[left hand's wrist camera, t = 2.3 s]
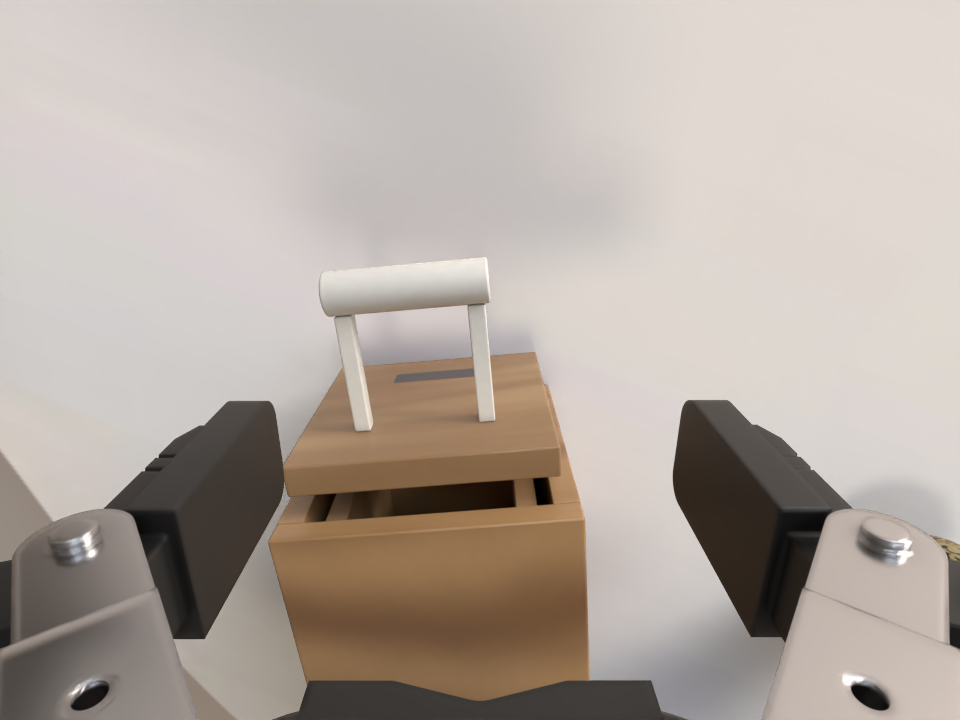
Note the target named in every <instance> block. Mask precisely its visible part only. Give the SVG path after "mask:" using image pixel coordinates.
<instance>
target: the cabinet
mask: <svg viewBox="0 0 960 720" xmlns="http://www.w3.org/2000/svg"><path fill="white" fill-rule="evenodd" d="M544 387H545V391H546V394H547V398H548V402H549V406H550V410H551V414H552V417H553V421H554V425H555V429H556V433H557V437H558V440H559V444H560V452H561V476H558V477H545V478H533V481H534V487H535V494H536V500H537V506H525V507H511V508H498V509H484V510H471V511H458V512H444V513H431V514H418V515H404V516H391V517H378V518H364V519H351V520H338V521H326V518H327V516H328V513H329V511H330V509H331V506H332V504H333V501H334V499H335V496H336V494H337V493H336V494H323V495H309V496H296V497H291V499H290V501H289V503H288V505H287V507H286V508H285V510H284V512H283V514H282V516H281V518H280V520H279V522H278V524H277V526H276V528H275V530H274V532H273V534H272V536H271V537H270V539H269V542H268V544H269V547H270V551H271V555H272V558H273V562H274V566H275V569H276V573H277V577H278V580H279V584H280V588H281V591H282V595H283V598H284V602H285V606H286V609H287V613H288V617H289V620H290V624H291V628H292V631H293V635H294V638H295V642H296V646H297V649H298V653H299V657H300V660H301V664H302V668H303V671H304V675H305V679H306V682H307V685H308V682H309V681H397V682H401V683H405V684H409V685H413V686H417V687H421V688H425V689H429V690H433V691H437V692H441V693H445V694H449V695H453V696H457V697H461V698H465V699H469V700H475V701H485V700H491V699H495V698H499V697H503V696H507V695H511V694H515V693H519V692H523V691H527V690H531V689H535V688H539V687H543V686H547V685H551V684H555V683H559V682H563V681H589V644H588V608H587V572H586V536H585V517H584V514H583V510H582V506H581V504H580V498H579V495H578V491H577V488H576V484H575V480H574V477H573V473H572V470H571V466H570V462H569V459H568V455H567V452H566V448H565V444H564V441H563V437H562V434H561V430H560V426H559V423H558V419H557V416H556V412H555V408H554V405H553V401H552V398H551V394H550V391H549V387H548V385H544Z"/></svg>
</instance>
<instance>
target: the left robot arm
mask: <svg viewBox="0 0 960 720" xmlns="http://www.w3.org/2000/svg"><path fill="white" fill-rule="evenodd" d="M673 487H674V492H675V497H676V500H677V502H678V504H679V506H680V508H681V510H682V512H683V513H684V515H685V517H686V519H687V521H688V523H689V524H690V526H691V528H692V530H693V532H694V533H695V535H696V537H697V539H698V541H699V543H700V544H701V546H702V548H703V550H704V552H705V554H706V555H707V557H708V559H709V561H710V563H711V565H712V566H713V568H714V570H715V572H716V574H717V576H718V577H719V579H720V581H721V583H722V585H723V587H724V588H725V590H726V592H727V594H728V596H729V598H730V599H731V601H732V603H733V605H734V607H735V609H736V610H737V612H738V614H739V616H740V618H741V620H742V621H743V623H744V625H745V627H746V629H747V631H748V632H749V634H750V636H751V637H782V638H783V640H784V642H785V646H784V649H783V653H782V656H781V659H780V662H779V665H778V669H777V672H776V675H775V678H774V681H773V685H772V688H771V691H770V694H769V698H768V701H767V704H766V707H765V710H764V714H763V717H762V720H960V561H955V560H950V559H948V557H947V555H946V553H945V551H944V549H943V548H942V547H941V546H940V544H939V543H938V542H936V541H935V540H934V539H933V538H932V537H931V536H929V535H928V534H927V533H925V532H924V531H922V530H920V529H919V528H917V527H915V526H913V525H911V524H909V523H907V522H905V521H903V520H900V519H898V518H895V517H892V516H890V515H886V514H883V513H879V512H875V511H870V510H863V509H853V508H852V507H851V506H850V505H849V504H848V503H847V502H846V501H845V500H844V499H842V498H841V497H840V496H839V495H838V494H837V493H836V492H835V491H834V490H833V489H832V488H831V487H830V486H829V485H828V484H827V483H826V482H825V481H824V480H823V479H822V478H821V477H820V476H819V475H818V474H817V473H816V472H815V471H814V470H811V469H810V466H809V465H808V464H807V463H806V462H805V461H804V460H803V459H802V458H801V457H797V453H796V452H795V451H794V450H793V449H792V448H791V447H790V446H789V445H788V444H787V443H786V442H785V441H784V440H783V439H782V438H780V437H778V436H776V435H775V434H773V433H771V432H769V431H767V430H766V429H764V428H762V427H760V426H758V425H752V424H751V423H750V422H749V421H748V420H747V419H746V418H745V417H744V416H743V415H742V414H741V413H740V412H739V411H738V410H737V409H736V408H735V406H734V405H733V404H732V403H731V402H729V401H728V400H688V401H686V402H685V404H684V406H683V408H682V413H681V419H680V426H679V433H678V440H677V447H676V454H675V461H674V468H673ZM283 488H284V469H283V462H282V455H281V448H280V441H279V434H278V427H277V420H276V414H275V410H274V407H273V405H272V403H271V402H269V401H229V402H227V403H226V404H225V405H224V406H223V407H222V408H221V409H220V410H219V411H218V412H217V413H216V414H215V415H214V416H213V417H212V418H211V419H210V420H209V421H208V422H207V423H206V424H205V425H204V426H198V427H196V428H194V429H193V430H191V431H189V432H187V433H185V434H183V435H182V436H180V437H178V438H176V439H175V440H174V441H173V442H171V443H170V444H169V445H168V446H167V447H166V448H165V449H164V450H163V451H162V452H161V453H160V454H159V458H155V459H154V460H153V461H152V462H151V463H150V464H149V465H148V466H147V467H146V468H145V472H141V473H140V474H139V475H138V476H137V477H136V478H135V479H134V480H133V481H132V482H131V483H130V484H129V485H128V486H126V487H125V488H124V489H123V490H122V491H121V492H120V493H119V494H118V495H117V496H116V497H115V498H114V499H113V500H112V501H111V502H110V503H109V504H108V505H107V506H106V507H105V508H104V509H97V510H90V511H85V512H81V513H77V514H74V515H70V516H68V517H65V518H62V519H60V520H57V521H55V522H53V523H51V524H49V525H47V526H45V527H43V528H41V529H40V530H38V531H36V532H35V533H33V534H32V535H31V536H29V537H28V538H27V539H26V540H25V541H24V542H22V543H21V544H20V546H19V547H18V548H17V549H16V551H15V553H14V555H13V557H12V560H9V561H4V562H0V720H198V717H197V714H196V710H195V707H194V704H193V701H192V698H191V694H190V691H189V688H188V685H187V682H186V678H185V675H184V672H183V669H182V665H181V662H180V659H179V656H178V653H177V649H176V646H175V643H174V640H173V639H205V637H206V635H207V634H208V632H209V630H210V628H211V626H212V625H213V623H214V621H215V619H216V617H217V616H218V614H219V612H220V610H221V608H222V606H223V605H224V603H225V601H226V599H227V597H228V596H229V594H230V592H231V590H232V588H233V587H234V585H235V583H236V581H237V579H238V578H239V576H240V574H241V572H242V570H243V569H244V567H245V565H246V563H247V561H248V559H249V558H250V556H251V554H252V552H253V550H254V549H255V547H256V545H257V543H258V541H259V540H260V538H261V536H262V534H263V532H264V531H265V529H266V527H267V525H268V523H269V521H270V520H271V518H272V516H273V514H274V512H275V511H276V509H277V507H278V505H279V503H280V501H281V498H282V494H283ZM273 720H687V719H684V718H681V717H678V716H676V715H673V714H669V713H666V712H662V711H661V710H660V707H659V704H658V701H657V698H656V694H655V691H654V688H653V685H652V682H651V681H563V682H559V683H555V684H551V685H547V686H543V687H539V688H535V689H531V690H527V691H523V692H519V693H515V694H511V695H507V696H503V697H499V698H495V699H491V700H485V701H475V700H469V699H465V698H461V697H457V696H453V695H449V694H445V693H441V692H437V691H433V690H429V689H425V688H421V687H417V686H413V685H409V684H405V683H401V682H397V681H309V682H308V685H307V688H306V691H305V694H304V698H303V701H302V704H301V707H300V710H299V711H298V712H294V713H291V714H287V715H284V716H282V717H279V718H276V719H273Z"/></svg>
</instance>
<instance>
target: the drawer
mask: <svg viewBox="0 0 960 720" xmlns="http://www.w3.org/2000/svg"><path fill="white" fill-rule="evenodd" d="M319 296H320V301H321V305H322V308H323V310H324V312H325V314H326V315H327V316H329V317H332V316H336V317H335V318H334V321H335V327H336V332H337V337H338V342H339V348H340V353H341V358H342V364H343V368H342V369H341V371H340V373H339V374H338V376H337V378H336V379H335V381H334V382H333V384H332V386H331V387H330V389H329V391H328V392H327V394H326V396H325V397H324V399H323V401H322V402H321V404H320V405H319V407H318V409H317V410H316V412H315V414H314V415H313V417H312V419H311V420H310V422H309V424H308V425H307V427H306V428H305V430H304V432H303V433H302V435H301V437H300V438H299V440H298V442H297V443H296V445H295V446H294V448H293V450H292V451H291V453H290V455H289V456H288V458H287V460H286V461H285V463H284V465H283V469H284V481H285V485H286V489H287V493H288V496H289V497H296V496H309V495H323V494H336V493H337V494H336V496H335V499H334V501H333V504H332V506H331V509H330V511H329V513H328V516H327V518H326V521H338V520H351V519H364V518H378V517H391V516H404V515H418V514H431V513H444V512H458V511H471V510H484V509H498V508H511V507H525V506H537V500H536V494H535V487H534V481H533V478H545V477H558V476H561V452H560V444H559V440H558V437H557V433H556V429H555V425H554V421H553V417H552V414H551V410H550V406H549V402H548V398H547V394H546V391H545V387H544V383H543V379H542V375H541V372H540V368H539V364H538V360H537V356H536V353H535V352H530V353H518V354H506V355H494V356H490V352H489V341H488V330H487V318H486V307H485V303H489V302H490V301H491V299H490V286H489V274H488V263H487V258H486V257H481V258H469V259H458V260H447V261H436V262H425V263H414V264H402V265H391V266H380V267H369V268H358V269H346V270H335V271H324V272H322V273H321V275H320V279H319ZM459 305H468V317H469V327H470V337H471V346H472V356H473V357H470V358H458V359H446V360H434V361H422V362H410V363H398V364H386V365H374V366H363V361H362V356H361V350H360V344H359V339H358V333H357V327H356V322H355V316H354V315H355V314H367V313H378V312H390V311H401V310H413V309H425V308H436V307H448V306H459Z"/></svg>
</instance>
